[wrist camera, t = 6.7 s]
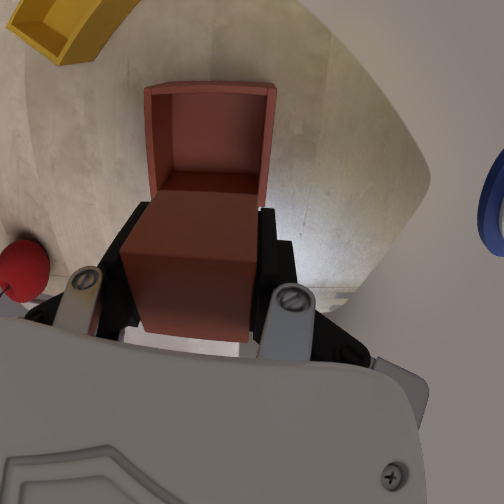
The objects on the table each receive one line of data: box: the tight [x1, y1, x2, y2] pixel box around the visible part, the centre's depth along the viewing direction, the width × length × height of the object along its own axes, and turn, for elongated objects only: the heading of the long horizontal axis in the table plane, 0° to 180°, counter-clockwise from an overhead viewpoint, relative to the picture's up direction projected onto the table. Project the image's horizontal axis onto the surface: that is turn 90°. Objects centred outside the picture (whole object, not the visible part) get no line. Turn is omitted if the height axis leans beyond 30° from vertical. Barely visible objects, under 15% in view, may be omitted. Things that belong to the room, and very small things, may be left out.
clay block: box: [120, 190, 258, 343], centre depth 10 cm, size 4×4×4 cm
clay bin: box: [144, 81, 277, 207], centre depth 21 cm, size 9×9×6 cm
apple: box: [0, 239, 50, 303], centre depth 29 cm, size 9×9×10 cm
